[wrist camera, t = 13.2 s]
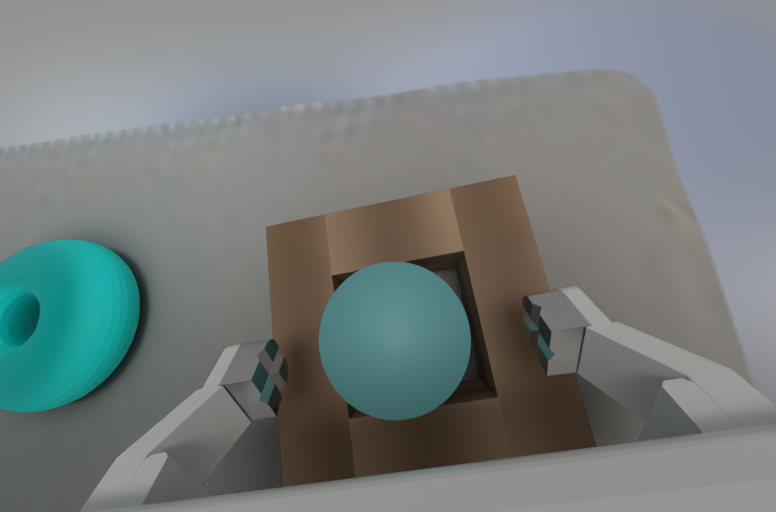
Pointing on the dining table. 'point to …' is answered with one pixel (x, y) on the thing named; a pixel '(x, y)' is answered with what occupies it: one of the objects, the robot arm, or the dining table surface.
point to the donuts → (62, 322)
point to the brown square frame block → (486, 321)
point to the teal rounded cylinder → (394, 340)
